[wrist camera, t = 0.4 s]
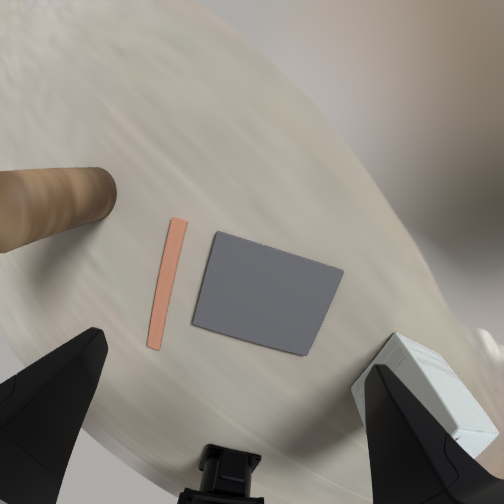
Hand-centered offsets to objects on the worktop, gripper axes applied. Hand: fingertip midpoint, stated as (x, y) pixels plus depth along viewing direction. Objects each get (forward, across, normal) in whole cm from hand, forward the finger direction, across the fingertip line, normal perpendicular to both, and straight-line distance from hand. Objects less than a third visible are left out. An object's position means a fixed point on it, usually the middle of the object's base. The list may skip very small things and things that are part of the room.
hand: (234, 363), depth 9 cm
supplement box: (+11, -15, +13) cm, 23 cm away
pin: (+14, +14, 0) cm, 20 cm away
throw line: (+12, +7, +7) cm, 16 cm away
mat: (+13, -1, +7) cm, 14 cm away
